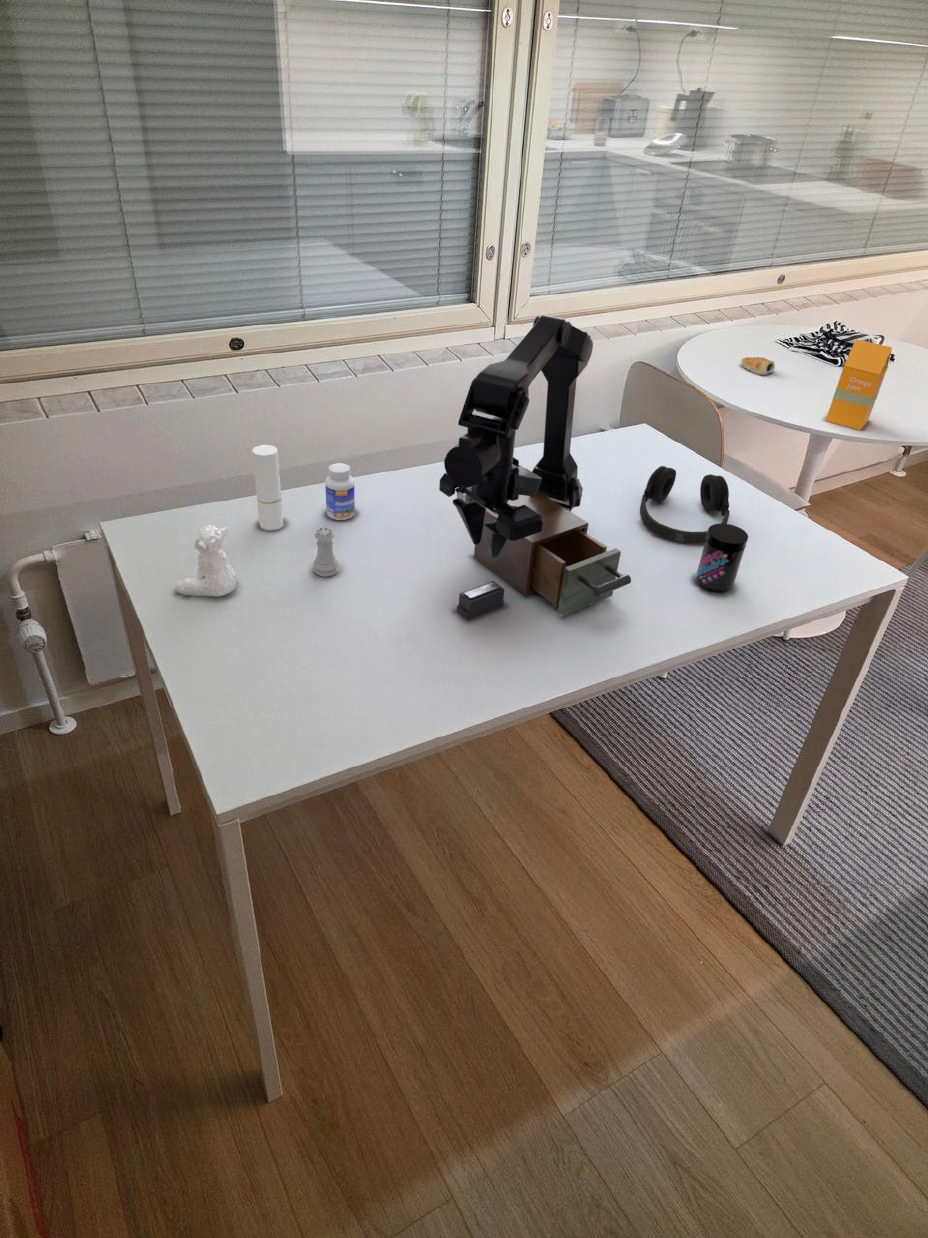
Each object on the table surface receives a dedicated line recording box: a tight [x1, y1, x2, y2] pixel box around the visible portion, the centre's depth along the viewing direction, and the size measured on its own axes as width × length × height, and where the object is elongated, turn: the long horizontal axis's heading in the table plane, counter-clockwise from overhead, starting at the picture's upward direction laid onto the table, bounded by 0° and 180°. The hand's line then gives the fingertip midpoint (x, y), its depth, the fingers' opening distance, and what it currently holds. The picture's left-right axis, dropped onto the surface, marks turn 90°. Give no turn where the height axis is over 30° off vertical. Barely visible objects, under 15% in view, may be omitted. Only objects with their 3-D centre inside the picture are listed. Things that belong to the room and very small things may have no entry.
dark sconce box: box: [456, 580, 505, 621], centre depth 136 cm, size 8×3×4 cm, turn 126°
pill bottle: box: [324, 462, 356, 521], centre depth 157 cm, size 5×5×10 cm
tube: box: [251, 444, 284, 531], centre depth 150 cm, size 4×4×15 cm
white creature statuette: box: [175, 524, 238, 598], centre depth 134 cm, size 10×9×12 cm
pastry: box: [740, 356, 776, 376], centre depth 241 cm, size 9×7×4 cm
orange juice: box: [825, 338, 893, 431], centre depth 208 cm, size 8×9×20 cm
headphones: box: [639, 465, 730, 545], centre depth 164 cm, size 17×7×20 cm
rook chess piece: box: [312, 526, 340, 578], centre depth 141 cm, size 4×4×8 cm
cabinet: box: [473, 491, 589, 597], centre depth 145 cm, size 15×13×11 cm
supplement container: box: [695, 522, 749, 594], centre depth 144 cm, size 7×7×10 cm
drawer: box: [530, 530, 632, 617], centre depth 138 cm, size 18×11×9 cm, turn 36°
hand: (485, 550), depth 131 cm, fingers open, 4 cm apart
